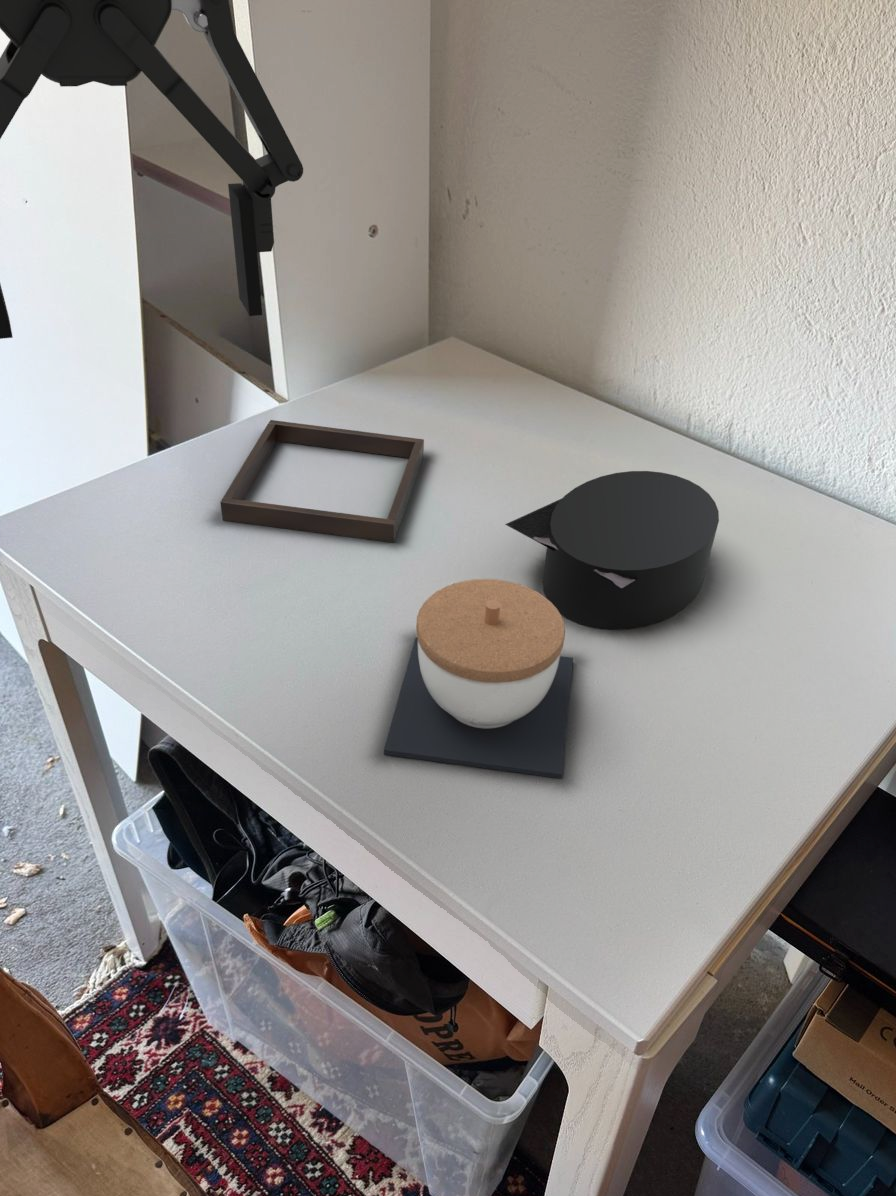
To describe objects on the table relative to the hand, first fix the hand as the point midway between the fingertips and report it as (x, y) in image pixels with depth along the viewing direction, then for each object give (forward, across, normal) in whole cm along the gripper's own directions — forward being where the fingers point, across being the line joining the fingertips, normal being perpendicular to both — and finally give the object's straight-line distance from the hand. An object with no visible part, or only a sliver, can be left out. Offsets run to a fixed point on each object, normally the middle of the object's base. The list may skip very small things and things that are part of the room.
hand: (132, 317), depth 58 cm
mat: (+29, +20, -9) cm, 36 cm away
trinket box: (+28, +20, -9) cm, 36 cm away
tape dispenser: (+29, +39, +3) cm, 48 cm away
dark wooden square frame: (+29, +18, +24) cm, 42 cm away
